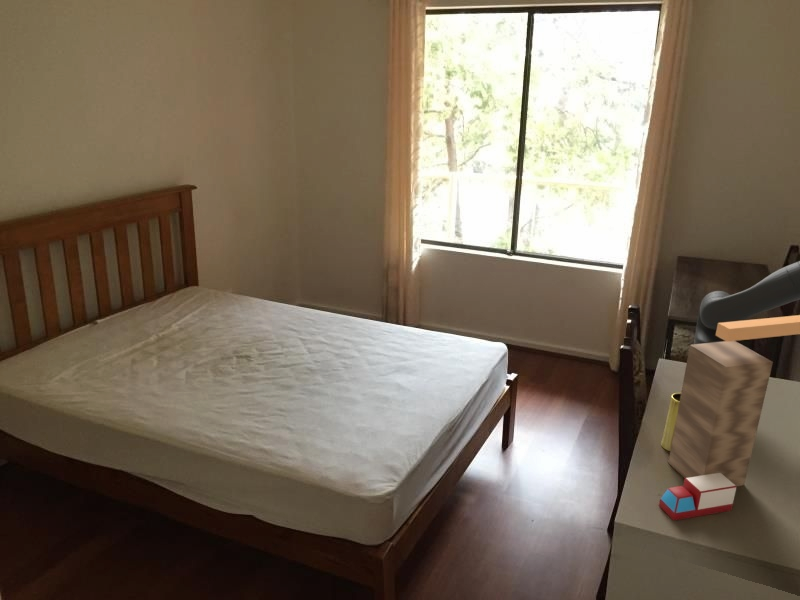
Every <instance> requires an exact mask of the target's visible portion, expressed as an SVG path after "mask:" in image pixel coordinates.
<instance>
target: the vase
mask: <svg viewBox="0 0 800 600" xmlns="http://www.w3.org/2000/svg"><path fill="white" fill-rule="evenodd" d="M680 397H681V392H675V393H674V392H673V394H671V396H670V400H669V405H668V406H669V407H668V412H667V416H666V421H665V426H664V429H663V433H662V440H661V442H660V445H661V447H662V448H663V449H665V450H666V451H667V452H670V451H671V446H672V440H673V435H674V429H675V424H676V418H677V413H678V408H679V402H680Z"/></svg>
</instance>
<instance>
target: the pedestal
mask: <svg viewBox="0 0 800 600" xmlns="http://www.w3.org/2000/svg"><path fill="white" fill-rule="evenodd" d="M773 363H774V362H773V360H770V359H768V358H766V357H765V356H763V355H761V354H759V353H757V352H756V351H754V350H752V349H750V348H749V347H747V346H745V345H743V344H741V343H739V342H738V341H728V342H727V341H723V342H713V343H703V344H694V343H693V344H689V348H688V354H687V360H686V365H685V369H684V376H683V382H682V387H681V392H680V393H681V397H680V402H679V408H678V413H677V418H676V424H675V429H674V435H673V440H672V446H671V451H669V457H668V458H669V459H668V464H669V465H670V466H671V467H672V468H673V469H674V470H675V471H676V472H678V473H679V474H680V475H681V476H682V478H684V479H685V478H689V477H696V476H702V475H708V474H715V473H721V474H722V475H724V476H725V477H726V478H727V479H728V480H730V481H731V482H732V483H733V484H734V485H736V486H737V487H741V486H745V483H746V480H747V479H746V478H747V474H748V469H749V466H750V462H751V458H752V453H753V449H754V445H755V440H756V436H757V432H758V428H759V424H760V420H761V419H760V418H761V414H762V412H763V411H762V410H763V406H764V403H765V397H766V393H767V389H768V385H769V381H770V376H771V372H772V367H773Z"/></svg>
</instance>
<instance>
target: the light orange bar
mask: <svg viewBox="0 0 800 600" xmlns="http://www.w3.org/2000/svg"><path fill="white" fill-rule="evenodd" d="M792 335H800V314H798V315H797V314H796V315H788V316H778V317H777V316H776V317H769V318H766V317H765V318H757V319H756V318H755V319H746V320H744V321H733V322H723V323H718V325H717V330H716V336H718V337H719V338H721V339H723V340H725V341H727V342H728V341H736V342H738V341H744V340H757V339H765V338H774V337H775V338H776V337H783V336H784V337H785V336H792Z"/></svg>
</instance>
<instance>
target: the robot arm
mask: <svg viewBox="0 0 800 600" xmlns="http://www.w3.org/2000/svg"><path fill="white" fill-rule="evenodd" d="M799 300H800V260H798V261H796V262H793V263H791V264H788V265H786V266H783V267H782V268H779V269H777V270H776V271H774V272H772V273H771V274H769V275H768V276H766V277H764V278H763V279H762V280H760V281H759V282H757V283H755V284H754V285H752V286H751V287H749V288H746V289H744V290H742V291H739V292H737V293H734V294H730V293H728V292H726V291H724V290H715V291H714V290H713V291H711V292H709V293H707V294H706V295H705V296H704V297H703V298H702V300H701V303H700V305H699V311H698V316H697V322H696V327H695V334H694V340H693V344H703V343H713V342H723V341H725V340H723V339H721V338H719V337H718V336H716V330H717V325H718V323H723V322H733V321H744V320H749V319H750V318H752V317H755V316H756V315H758V314H761V313H764V312H768V311H770V310H773V309H776V308H779V307H782V306H784V305H787V304H789V303H790V304H791V303H792V302H793V303H794V302H796V301H799Z"/></svg>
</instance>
